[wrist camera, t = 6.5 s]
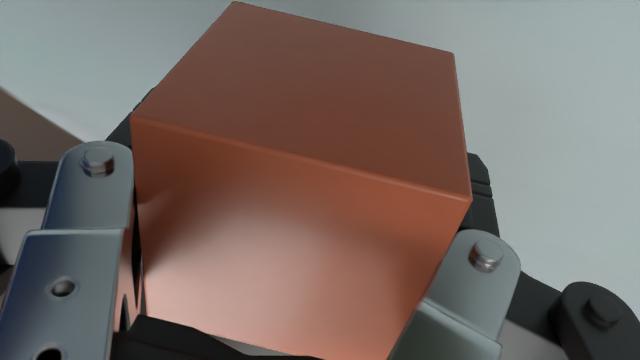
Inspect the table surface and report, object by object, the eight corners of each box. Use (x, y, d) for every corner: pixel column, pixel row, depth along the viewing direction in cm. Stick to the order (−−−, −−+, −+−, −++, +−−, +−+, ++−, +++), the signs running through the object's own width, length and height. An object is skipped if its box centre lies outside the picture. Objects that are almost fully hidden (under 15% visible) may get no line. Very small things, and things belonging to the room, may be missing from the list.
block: (222, 172, 14) (145, 320, 10) (233, -2, 11) (126, 115, 7) (393, 214, 14) (383, 378, 10) (455, 51, 11) (475, 200, 7)
